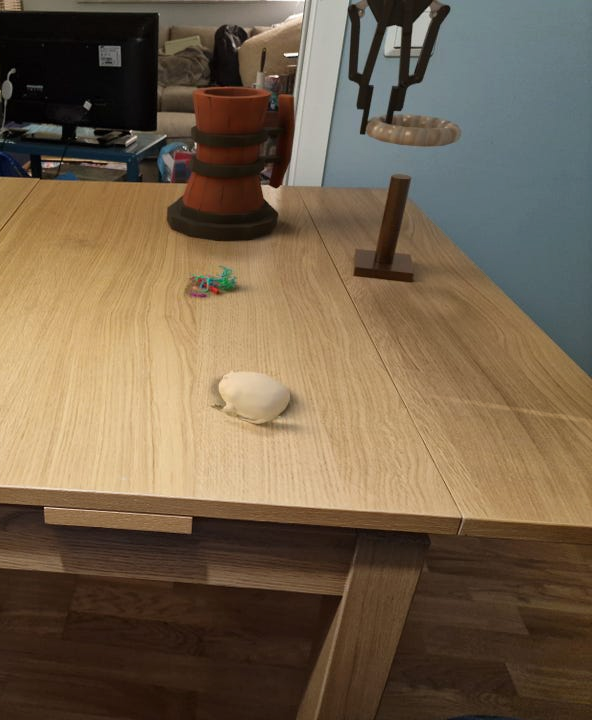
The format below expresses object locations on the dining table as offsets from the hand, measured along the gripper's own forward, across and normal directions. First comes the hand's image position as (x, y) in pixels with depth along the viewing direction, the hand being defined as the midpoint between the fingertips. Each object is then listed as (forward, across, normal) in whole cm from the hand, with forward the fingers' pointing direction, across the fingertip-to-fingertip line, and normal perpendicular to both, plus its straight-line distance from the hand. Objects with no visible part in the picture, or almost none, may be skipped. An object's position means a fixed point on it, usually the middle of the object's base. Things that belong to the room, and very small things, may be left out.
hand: (374, 133), depth 98 cm
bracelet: (-1, +5, 0) cm, 5 cm away
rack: (+23, +5, +4) cm, 24 cm away
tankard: (+23, -23, +22) cm, 39 cm away
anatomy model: (+23, -21, -15) cm, 34 cm away
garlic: (+23, -10, -44) cm, 51 cm away
